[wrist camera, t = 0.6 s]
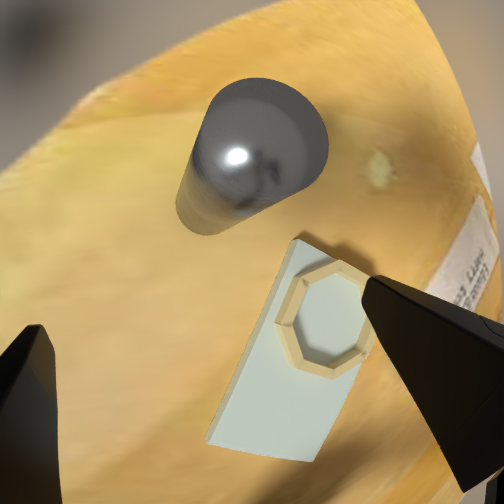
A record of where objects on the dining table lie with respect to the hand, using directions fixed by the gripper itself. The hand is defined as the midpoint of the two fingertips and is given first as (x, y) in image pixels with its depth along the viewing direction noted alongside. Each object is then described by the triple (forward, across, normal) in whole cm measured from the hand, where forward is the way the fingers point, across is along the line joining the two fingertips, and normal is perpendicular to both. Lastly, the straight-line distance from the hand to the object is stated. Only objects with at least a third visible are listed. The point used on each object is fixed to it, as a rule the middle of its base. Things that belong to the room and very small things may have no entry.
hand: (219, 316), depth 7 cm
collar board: (+8, -9, +14) cm, 18 cm away
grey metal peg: (+15, -3, +3) cm, 16 cm away
